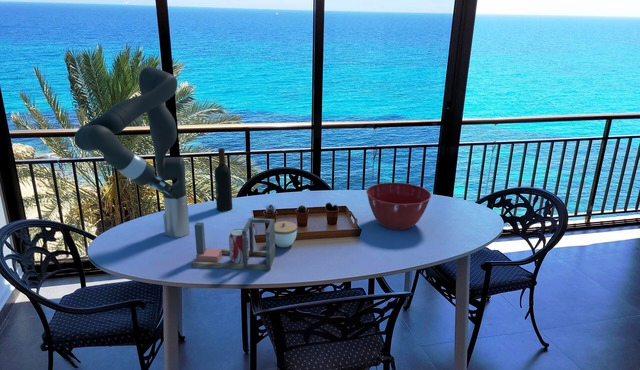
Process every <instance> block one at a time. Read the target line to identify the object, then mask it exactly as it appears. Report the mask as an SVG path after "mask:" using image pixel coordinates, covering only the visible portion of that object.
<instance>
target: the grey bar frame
mask: <svg viewBox="0 0 640 370" xmlns="http://www.w3.org/2000/svg"><path fill="white" fill-rule="evenodd" d="M275 221H276V220H275V218H256V217H254V218H253V217H252V218H251V217H250V218H248V220H247V222H246V224H245V226H244V227H243V228H242V229H243V231H242V237H243V261H244V263H243V264H236V263H233V262H218V263H213V262H196V261H191V262H190V267H192V268H207V269H208V268H211V269H212V268H213V269H228V270H229V269H233V270H256V271H271V269H272V265H273V264H274V263H273V262H274V261H275V260H274V259H275V257H276V244H275V223H276V222H275ZM255 223H256V224H268V227H267V228H266V232H265V239H266V240H265V246H266V247H265V249H266V250H254V248H255V247H254V226H253V225H254V224H255ZM246 233H247V234H248V242H249V256H253V257H254V256H260V257H265V258H266V264H257V263H248V261H249V259H247V234H246ZM222 255H230V249H229V248H226V249H225V248H222Z"/></svg>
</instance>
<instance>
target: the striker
mask: <svg viewBox="0 0 640 370" xmlns="http://www.w3.org/2000/svg"><path fill="white" fill-rule="evenodd" d="M193 227H194V235H195V236H194V237H195V249H196V256H195V259H196V260H195V262H213V263H220V260H221V259H222V257H223V254H222V249H223V248H222V249H221V248H206V239H205V238H206V237H205V236H206V235H205V224H204V222H195V224H194V226H193Z"/></svg>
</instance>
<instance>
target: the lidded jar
mask: <svg viewBox="0 0 640 370" xmlns="http://www.w3.org/2000/svg"><path fill="white" fill-rule="evenodd" d="M297 229H298V227H297V224H296V223H294V222H291V221H277V222H275V246H277V247H278V248H279V247H280V248H287V247H291V245H292V244H293V243H294V242H295V240H296V239H297V232H298V230H297Z"/></svg>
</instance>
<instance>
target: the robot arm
mask: <svg viewBox="0 0 640 370" xmlns="http://www.w3.org/2000/svg"><path fill="white" fill-rule="evenodd" d="M138 86H139V91H140V94H141V95H138V96H134V97H129V98H126V99H122V100H121V101H118V102H117V103H115V104H114V105H112V106H111V107H110V108H108V109H107V110H106V111H104V112H103V114H101V115H100V116H98V117H95V118H94V119H92V120H91V121H89V122H87V123H85V124H83V125H82V126H81V127H80V128H78V129H77V131H76V132H75V134H74V138H73V139H74V144H75V145H76V147H77V148H78V149H80V150H82V151H86V152H87V151H88V152H93V151H99V152H101V153H102V154H103V156H102V157H103V159H104V161H105V162H106V163H107V164H108V165H109V166H111V167H112V168H114V169H116V170H117V171H118V172H120V174H122V176H124V177H125V178H127V179H129V180H130V181H132V182H133V183H134V184H136V185H138V186H140V187H144V186H148V187H150V188H151V189H155V190H157V191H158V192H159V193H161V194H162V197H163V207H164V213H163V214H162V216H163V225H164V226H163V227H164V235H165V236H168V237H170V238H183V237H186V236H187V235H189V234H190V222H189V221H190V220H189V207H188V196H187V189H186V188H187V187H186V166H185V165H186V164H185V161H184V158H183V157H180V156H175V157H174V156H173V157H172V156H171V157H166V156H167V154H168V152H169V150H170V149H171V148H172V147H173V146H174V144H175V142H176V140H177V138H178V131H177V125H176V121H175V119H174V117H173V115H172V113H171V111H169V109H168V107H167V106H166V105H165V104H164V103H165V102H168V100H170V99H171V98H172V97H173V96H174V95H175V94H176V92H177V89H178V79H177V77H176V76H174V74H171V73H169V72H168V71H167V72H166V71H165V70H161V69H159V68H156V67H153V66H147V67H144V68H143V69H141V71H140V73H139V75H138ZM144 114H146V115H147V119H148V125H149V132H150V136H151V140H152V146H153V151H154V157H155V159H154V160H155V167H156V168H155V167H154V165H152V164H151V163H149V162H147V161H146V160H145V159H144V158H143V157H141V156H139V155H138V154H137V153H135V152H133V151H132V150H130V149H129V148H128V147H126V146H125V145H123V144H122V143H121V141H120V139H118V137H117V136H116V134H119V133H121V132H122V131H123V130H124V129H126V128H127V127H128V126H129V125H131V124H132V123H133V122H135V120H137V119H138V118H139V117H141V116H142V115H144ZM156 174H157V175H156ZM175 180H176V181H175ZM167 181H175V182H174V183H173V184H169V183H168V182H167Z"/></svg>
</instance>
